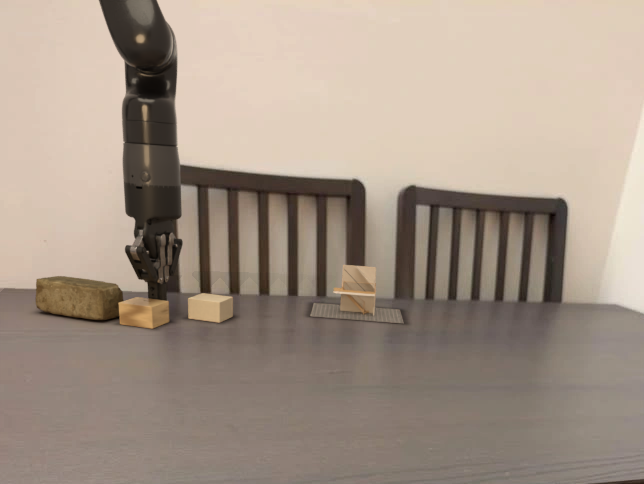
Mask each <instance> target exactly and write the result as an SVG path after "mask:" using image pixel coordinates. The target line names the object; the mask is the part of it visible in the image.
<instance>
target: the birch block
mask: <svg viewBox="0 0 644 484" xmlns="http://www.w3.org/2000/svg"><path fill="white" fill-rule="evenodd" d="M118 317H119V318H118V319H119V325H123V326H129V327H138V328H145V329H150V330H153V329H156V328H159V327H160V326H163V325H166V324H168V323H170V301H169V300H167V301H164V300H157V299H149V298H148V297H141V296H135V297H132V298H129V299H127V300H124V301H122V302H119V316H118Z"/></svg>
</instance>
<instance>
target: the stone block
mask: <svg viewBox="0 0 644 484" xmlns="http://www.w3.org/2000/svg"><path fill="white" fill-rule="evenodd" d="M35 281H36V282H35V306H36V309H38V310H40V311H42V312H44V313H50V314H53V315H60V316H65V317H73V318H82V319H85V320H92V321H93V320H94V321H107V320H111V319H116V318H118V317H119V302H122V301H125V300H124V295H123V290H122V289H121V288H120V287H119V285H118V284H117V283H113V282H106V281H102V280H95V279H89V278H81V277H72V276H66V275H65V276H64V275H55V276H49V277H41V278H36V280H35Z"/></svg>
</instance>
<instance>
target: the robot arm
mask: <svg viewBox="0 0 644 484" xmlns="http://www.w3.org/2000/svg"><path fill="white" fill-rule="evenodd" d="M98 2H99V6H100V9H101V12H102V16H103V18H104V21H105V24H106V27H107V30H108V32H109V35H110V38H111V40H112V42H113V44H114V47H115V49H116V51H117V53H118V54H119V55H120V57H121V59H123V62H124V78H125V79H124V81H125V94H124V97H123V99H122V102H121V126H122V127H121V128H122V141H123V143H122V146H123V147H122V173H123V174H122V179H123V192H124V193H123V194H124V195H123V196H124V210H125V212H124V213H125V215H126V216H127V217H129V218H133V219H134V227H133V236H134V241H133V243H132V245H130V244H125V247H124V253H125V255H126V257H127V259H128V261H129V263H130V265H131V266H132V269H133V271H134V273H135V276H136V277H137V279H138V280H141V281H144V283H146V284H147V298H149V299H157V300H164V301H168V293H167V292H168V291H167V288H168V287H167V283H168V282H170V281H169V280H170V277H174V275H175V273H176V269H177V266H178V263H179V259H180V255H181V251H182V248H183V239H182V238H177V237H176V236H175V226H174V224H173V223H174V222H173V221H175V220H179V219H181V218H182V212H183V211H182V183H181V182H182V180H181V179H182V177H181V160H180V155H179V154H180V153H179V147H178V145H179V143H178V118H177V109H176V108H177V107H176V97H177V85H178V63H179V62H178V61H179V60H178V42H177V38H176V35H175V32H174V30H173V28H172V27H171V25H170V23H168V21H167V20H166V18H165V16H164V14H163V12H162V9H161V7H160V4H159V2H158V0H98Z"/></svg>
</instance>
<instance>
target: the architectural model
mask: <svg viewBox="0 0 644 484" xmlns="http://www.w3.org/2000/svg"><path fill="white" fill-rule="evenodd" d="M341 273H342V274H341V287H333V292H332V293H333V294H337V295H338V294H340V304H334V303H333V304H332V303H321V302H313V305H312V309H311V312H310V315H309V316H310V317H314V318H326V319H337V320H338V319H339V320H350V321H351V320H352V321H366V322H378V323H392V324H403V325H404V324H405V323H404V319H403V315H402V313H401V309H400V308H399V309H397V308H387V307H385V308H384V307H376V298H377V297H376V296H377V288H376V287H377V282H376V278H377V266H364V265H351V264H342V272H341Z"/></svg>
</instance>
